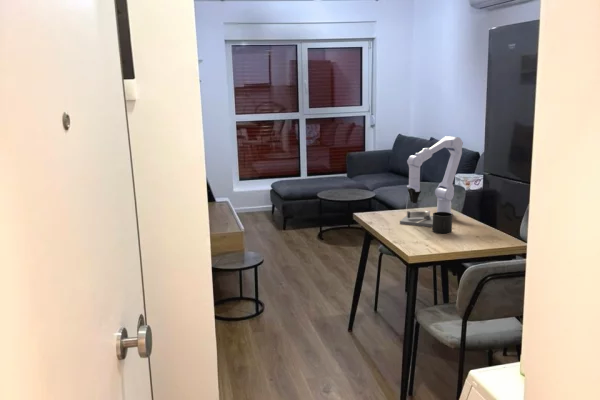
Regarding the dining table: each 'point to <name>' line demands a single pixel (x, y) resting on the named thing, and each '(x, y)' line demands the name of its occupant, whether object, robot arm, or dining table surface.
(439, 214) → the mug
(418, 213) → the bar
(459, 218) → the dining table surface
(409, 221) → the plate
